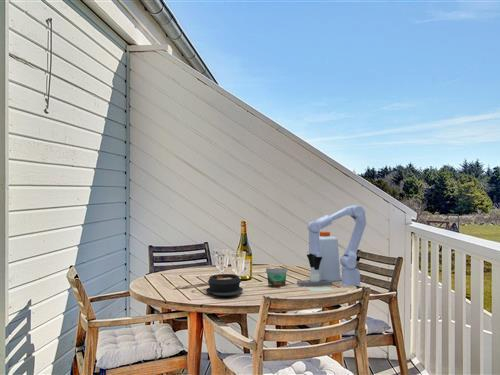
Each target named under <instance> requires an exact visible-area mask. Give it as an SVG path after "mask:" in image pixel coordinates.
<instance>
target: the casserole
mask: <svg viewBox="0 0 500 375" xmlns="http://www.w3.org/2000/svg"><path fill="white" fill-rule="evenodd" d="M207 283H208V285H209V287H207V288H206V290H205V291H206V292H207V293H209V294H212V295H214V296H218V297H228V296H230V297H231V296H237V295H239V294H240V293H241V292H242V291H244V288H242V286H240V285H241V283H242V280H241V278H240V276H239V275H237V274H233V273H232V274H231V273H220V274H214V275H211V276H209V278H208V280H207Z"/></svg>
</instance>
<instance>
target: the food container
mask: <svg viewBox="0 0 500 375" xmlns="http://www.w3.org/2000/svg"><path fill="white" fill-rule="evenodd" d="M265 272H266V276H267V285H268V287H270V288H281V287H285V286H286V281H287V272H289V271H288V268H287V266H285V267H283V268H279V267H276V268H275V267H274V268H270V267H266V268H265Z"/></svg>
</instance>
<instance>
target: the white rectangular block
mask: <svg viewBox="0 0 500 375" xmlns="http://www.w3.org/2000/svg"><path fill="white" fill-rule="evenodd" d="M309 280H310V282H319V274H318V273H311V272H309Z"/></svg>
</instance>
